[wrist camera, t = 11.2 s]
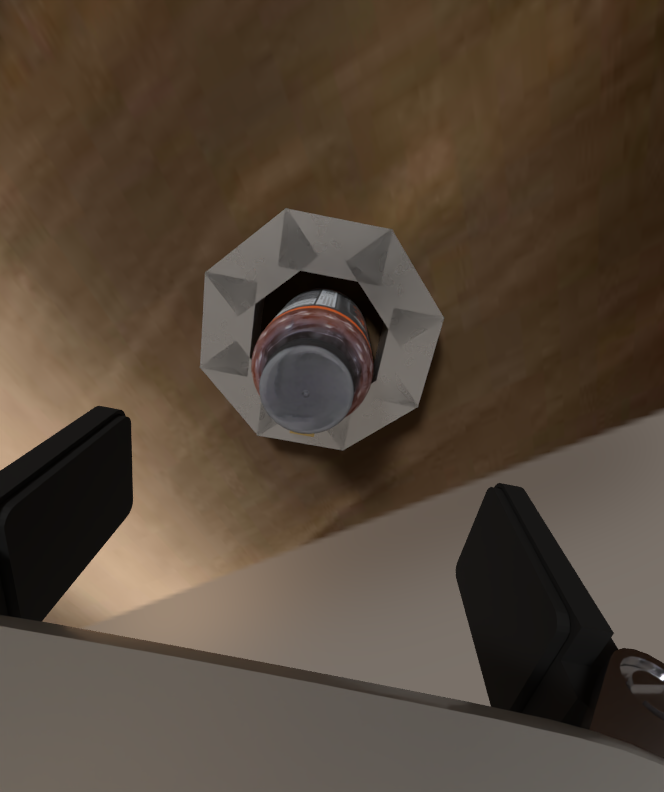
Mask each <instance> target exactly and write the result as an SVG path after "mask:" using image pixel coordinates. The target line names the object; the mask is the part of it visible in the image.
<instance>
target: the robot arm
mask: <svg viewBox="0 0 664 792" xmlns="http://www.w3.org/2000/svg"><path fill="white" fill-rule="evenodd" d="M132 504H133V483H132V442H131V420H130V418H129V417H125V413H124V412H123V411H122V410H119V409H113V408H108V407H103V406H97V407H95V408H93V409H92V410H90V411H89V412H87V413H86V414H84V415H83V416H81V417H80V418H78V419H77V420H75V421H74V422H72V423H71V424H69V425H68V426H66V427H65V428H63V429H62V430H60V431H59V432H57V433H56V434H54V435H53V436H52V437H50V438H49V439H47V440H46V441H44V442H43V443H41V444H40V445H38V446H37V447H35V448H34V449H32V450H31V451H29V452H28V453H26V454H25V455H23V456H22V457H20V458H19V459H17V460H16V461H14V462H13V463H11V464H10V465H8V466H7V467H5V468H4V469H2V470H1V471H0V792H664V663H662V662H660V661H659V660H657V659H655V658H653V657H652V656H650V655H648V654H646V653H643V652H640V651H637V650H634V649H626V648H622V649H619V650H618V648H617V647H616V645H615V643H614V642H613V640H612V638H611V637H612V635H613V631H612V630H611V628H610V626H609V625H608V623H607V621H606V620H605V618H604V617H603V615H602V614H601V612H600V610H599V609H598V607H597V605H596V604H595V603H594V601H593V599H592V598H591V596H590V594H589V593H588V591H587V590H586V588H585V586H584V585H583V583H582V581H581V580H580V578H579V577H578V575H577V573H576V572H575V570H574V569H573V567H572V566H571V564H570V562H569V561H568V559H567V557H566V556H565V554H564V553H563V551H562V549H561V548H560V546H559V545H558V543H557V541H556V540H555V538H554V537H553V535H552V533H551V532H550V530H549V529H548V527H547V525H546V524H545V522H544V521H543V519H542V517H541V516H540V514H539V512H538V511H537V509H536V508H535V506H534V504H533V503H532V501H531V500H530V498H529V496H528V495H527V493H526V492H525V490H524V489H523V488H521V487H518V486H512V485H507V484H501V483H498V484H497V485H496V486H495V487H494V488H493V487H490V488H489V489H488V490H487V492H486V494H485V497H484V499H483V501H482V504H481V506H480V509H479V511H478V514H477V516H476V518H475V521H474V523H473V526H472V528H471V531H470V533H469V535H468V538H467V540H466V543H465V545H464V548H463V550H462V553H461V555H460V557H459V560H458V562H457V566H456V579H457V582H458V586H459V590H460V593H461V597H462V601H463V605H464V608H465V612H466V616H467V620H468V623H469V627H470V631H471V634H472V638H473V642H474V645H475V649H476V653H477V656H478V660H479V664H480V667H481V671H482V675H483V678H484V682H485V686H486V690H487V693H488V697H489V701H490V704H491V707H489V706H485V705H480V704H475V703H471V702H466V701H461V700H456V699H451V698H445V697H440V696H435V695H430V694H425V693H420V692H414V691H410V690H405V689H399V688H394V687H389V686H384V685H379V684H374V683H368V682H363V681H358V680H353V679H348V678H343V677H338V676H332V675H327V674H321V673H317V672H311V671H306V670H301V669H296V668H290V667H285V666H280V665H274V664H269V663H264V662H258V661H253V660H248V659H243V658H237V657H232V656H227V655H221V654H216V653H210V652H205V651H200V650H194V649H189V648H184V647H179V646H173V645H167V644H162V643H156V642H151V641H146V640H139V639H135V638H129V637H123V636H118V635H113V634H107V633H102V632H96V631H91V630H85V629H80V628H74V627H69V626H63V625H58V624H52V623H46V622H42V620H43V619H44V618H45V617H46V616H47V614H48V613H49V612H50V611H51V609H52V608H53V607H54V606H55V604H56V603H57V602H58V601H59V600H60V598H61V597H62V596H63V595H64V593H65V592H66V591H67V590H68V588H69V587H70V586H71V585H72V584H73V582H74V581H75V580H76V579H77V577H78V576H79V575H80V574H81V572H82V571H83V570H84V569H85V568H86V566H87V565H88V564H89V563H90V561H91V560H92V559H93V558H94V556H95V555H96V554H97V553H98V552H99V550H100V549H101V548H102V547H103V545H104V544H105V543H106V542H107V541H108V539H109V538H110V537H111V536H112V534H113V533H114V532H115V531H116V529H117V528H118V527H119V526H120V525H121V523H122V522H123V521H124V520H125V518H126V517H127V516H128V514H129V513H130V511H131V508H132Z"/></svg>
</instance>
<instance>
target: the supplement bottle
mask: <svg viewBox="0 0 664 792" xmlns="http://www.w3.org/2000/svg"><path fill="white" fill-rule="evenodd" d="M373 366H374V365H373V357H372V350H371V346H370V341H369V337H368V332H367V326H366V322H365V319H364V317H363V315H362V313H361V311H360V310H359V308H358V307H357V305H356V304H355V303H354V302H353V301H352V300H351V299H350V298H349V297H348V296H346V295H344V294H343V293H341V292H338V291H335V290H332V289H326V288H315V289H310V290H307V291H304V292H302V293H300V294H298V295H297V296H295V297H294V298H293V299H292V300H290V301H289V302H288V303H287V304H286V305H285V307H284V308H283V309H282V310H281V311H280V312H279V313H278V314H277V316H276V317H275V318H274V319H273V320H272V321H271V322H270V323H269V324H268V326H267V327H266V328H265V330H264V331H263V332H262V333H261V335H260V337H259V339H258V341H257V343H256V345H255V348H254V351H253V355H252V362H251V372H252V378H253V382H254V385H255V388H256V390H257V392H258V394H259V396H260V399H261V403H262V405H263V407H264V409H265V411H266V412H267V414H268V415H269V416H270V417H271V419H273V420H274V421H275V422H276V423H277V424H279V425H280V426H281V427H283V428H285V429H287V430H290V431H293V432H296V433H301V434H315V433H320V432H324V431H326V430H329V429H331V428H332V427H334V426H336V425H337V424H339V423H340V422H341V421H342V420H343V419H344V418H345V417H347V416H348V415H350V414H351V413H353V412H354V411H355V410H356V409H357V408H358V407H359V406H360V404H361V403H362V402H363V400H364V399H365V397H366V395H367V393H368V391H369V389H370V386H371V383H372V377H373Z"/></svg>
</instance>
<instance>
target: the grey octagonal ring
mask: <svg viewBox="0 0 664 792" xmlns="http://www.w3.org/2000/svg"><path fill="white" fill-rule="evenodd" d="M299 271H305V272H310V273H315V274H321V275H326V276H331V277H336V278H341V279H347V280H352V281H357V282H358V283H359V284H360V286H361V287H362V289H363V290H364V292H365V293H366V295H367V296H368V298H369V300H370V301H371V303H372V304H373V306H374V307H375V309H376V310H377V312H378V314H379V315H380V317H381V318H382V320H383V321H384V322H383V327H382V331H381V335H380V340H379V344H378V348H377V352H376V357H375V361H374V366H373V377H372V383H371V386H370V389H369V391H368V393H367V395H366V397H365V399H364V400H363V402H362V403H361V404H360V406H359V407H358V408H357V409H356V410H355V411H354V412H353V413H351V414H350V415H348V416H347V417H345V418H344V419H343V420H342V421H341V422H340V423H339V424H337V425H336V426H334V427H332V428H331V429H329V430H326V431H324V432H320V433H315V434H301V433H296V432H293V431H290V430H287V429H285V428H283V427H281V426H280V425H279V424H277V423H276V422H275V421H274V420H273V419H271V417H270V416H269V415H268V414H267V412H266V411H265V409H264V407H263V405H262V403H261V399H260V396H259V394H258V392H257V390H256V388H255V385H254V382H253V378H252V372H251V362H252V355H253V351H254V348H255V345H256V343H257V341H258V339H259V337H260V335H261V326H262V317H263V308H264V300H265V296H267V295H268V294H269V293H271V292H272V291H273V290H275V289H276V288H278V287H279V286H280V285H282V284H283V283H284V282H286V281H287V280H288V279H290V278H291V277H292V276H294V275H295V274H296V273H298V272H299ZM443 320H444V317H443V316H442V314H441V312H440V311H439V309H438V307H437V305H436V304H435V302H434V300H433V299H432V297H431V295H430V294H429V292H428V290H427V288H426V287H425V285H424V283H423V282H422V280H421V278H420V277H419V275H418V273H417V271H416V270H415V268H414V266H413V265H412V263H411V261H410V260H409V258H408V256H407V254H406V253H405V251H404V249H403V248H402V246H401V244H400V242H399V241H398V239H397V237H396V236H395V234H394V232H393V230H392V229H387V228H382V227H377V226H371V225H366V224H361V223H356V222H351V221H346V220H341V219H336V218H331V217H326V216H321V215H316V214H311V213H306V212H301V211H296V210H291V209H288V208H285V210H283V211H282V212H281V213H280V214H278V215H277V216H276V217H274V218H273V219H272V220H271V221H269V222H268V223H267V224H266V225H264V226H263V227H262V228H261V229H259V230H258V231H257V232H256V233H254V234H253V235H252V236H251V237H249V238H248V239H247V240H246V241H244V242H243V243H242V244H241V245H239V246H238V247H237V248H236V249H234V250H233V251H232V252H230V253H229V254H228V255H227V256H225V257H224V258H223V259H222V260H220V261H219V262H218V263H217V264H215V265H214V266H213V267H212V268H210V269H209V270H208V271H206V272H205V286H204V305H203V323H202V342H201V361H200V368H201V369H202V370H203V371H204V373H205V374H206V375H207V376H208V377H209V378H210V380H211V381H212V382H213V383H214V384H215V385H216V387H217V388H218V389H219V390H220V391H221V393H222V394H223V395H224V396H225V397H226V398H227V400H228V401H229V402H230V403H231V404H232V405H233V407H234V408H235V409H236V410H237V411H238V413H239V414H240V415H241V416H242V417H243V418H244V420H245V421H246V422H247V423H248V424H249V426H250V427H251V428H252V429H253V430H254V431H255V433H256V434H257V435H258V436H264V437H270V438H275V439H281V440H287V441H292V442H298V443H304V444H309V445H315V446H321V447H326V448H332V449H337V450H342V451H344V449H346V448H348V447H350V446H351V445H353V444H355V443H357V442H358V441H360V440H362V439H363V438H365V437H367V436H369V435H370V434H372V433H374V432H376V431H377V430H379V429H381V428H382V427H384V426H386V425H388V424H389V423H391V422H393V421H395V420H396V419H398V418H400V417H401V416H403V415H405V414H407V413H408V412H410V411H412V410H414V409H415V408H418V407H419V406H418V405H419V401H420V398H421V395H422V391H423V388H424V384H425V381H426V378H427V374H428V371H429V367H430V364H431V361H432V357H433V354H434V350H435V347H436V344H437V340H438V337H439V333H440V330H441V327H442V323H443Z"/></svg>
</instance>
